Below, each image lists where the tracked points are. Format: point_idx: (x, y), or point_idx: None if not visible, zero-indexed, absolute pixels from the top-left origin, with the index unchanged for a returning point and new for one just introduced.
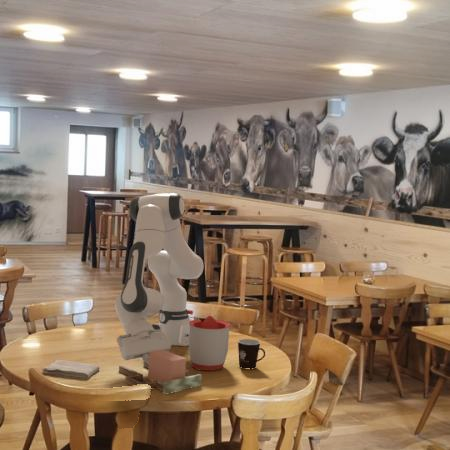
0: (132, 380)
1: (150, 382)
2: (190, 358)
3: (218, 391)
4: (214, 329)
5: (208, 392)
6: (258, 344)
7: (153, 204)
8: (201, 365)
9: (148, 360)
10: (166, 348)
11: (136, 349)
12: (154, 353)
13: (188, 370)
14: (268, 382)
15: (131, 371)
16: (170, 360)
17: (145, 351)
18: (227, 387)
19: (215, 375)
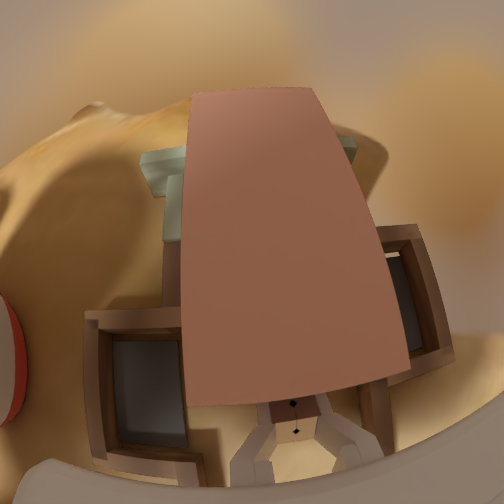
0: (442, 302)
1: (380, 240)
2: (4, 405)
3: (152, 135)
4: None
5: (184, 136)
6: None
7: None
8: (13, 327)
9: (341, 419)
10: (87, 471)
11: (483, 450)
12: (382, 289)
13: (86, 311)
14: (21, 160)
15: (393, 448)
16: (316, 99)
17: (389, 465)
18: (103, 153)
19: (32, 262)
